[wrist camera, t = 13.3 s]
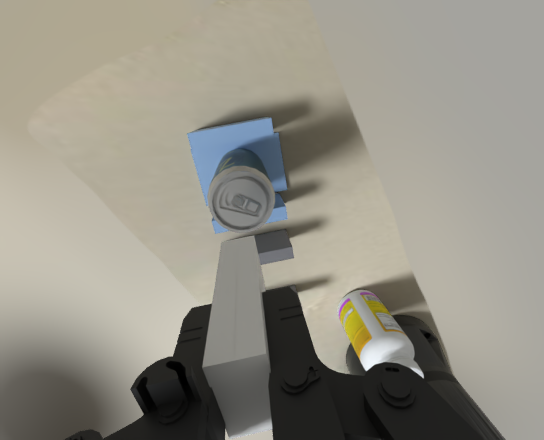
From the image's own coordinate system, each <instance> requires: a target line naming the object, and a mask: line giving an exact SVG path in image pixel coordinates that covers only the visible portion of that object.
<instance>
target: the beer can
mask: <svg viewBox="0 0 544 440" xmlns="http://www.w3.org/2000/svg"><path fill="white" fill-rule="evenodd" d="M207 199H208V207H209V209H210V211H211V214H212V216H213V218H214V219H215V220H216V221H217V223H218V224H219V225H220V226H222V227H223V228H225V229H227V230H229V231H232V232H237V233H245V232H251V231H254V230H256V229H258V228H260V227H261V226H262V225H264V224H265V223H266V222H267V220H268V219H269V217H270V216H271V214H272V211H273V208H274V205H275V191H274V189H273V186H272V183H271V181H270V179H269V176H268V174H267V172H266V169H265V167H264V165H263V162H262V160H261V159H260V158H259V157H258V155H257V154H255V153H254V152H252V151H250V150H247V149H234V150H232V151H229V152H228V153H226V154H225V155H224V156H223V157H222V159H221V161H220V162H219V164H218V167H217V169H216V172H215V174H214V176H213V179H212V181H211V184H210V186H209V190H208V195H207Z"/></svg>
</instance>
